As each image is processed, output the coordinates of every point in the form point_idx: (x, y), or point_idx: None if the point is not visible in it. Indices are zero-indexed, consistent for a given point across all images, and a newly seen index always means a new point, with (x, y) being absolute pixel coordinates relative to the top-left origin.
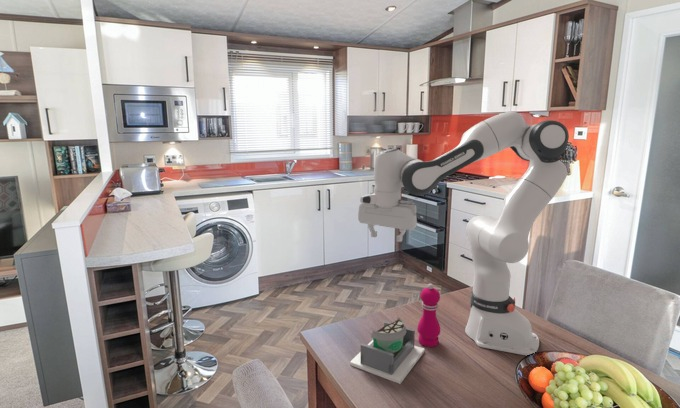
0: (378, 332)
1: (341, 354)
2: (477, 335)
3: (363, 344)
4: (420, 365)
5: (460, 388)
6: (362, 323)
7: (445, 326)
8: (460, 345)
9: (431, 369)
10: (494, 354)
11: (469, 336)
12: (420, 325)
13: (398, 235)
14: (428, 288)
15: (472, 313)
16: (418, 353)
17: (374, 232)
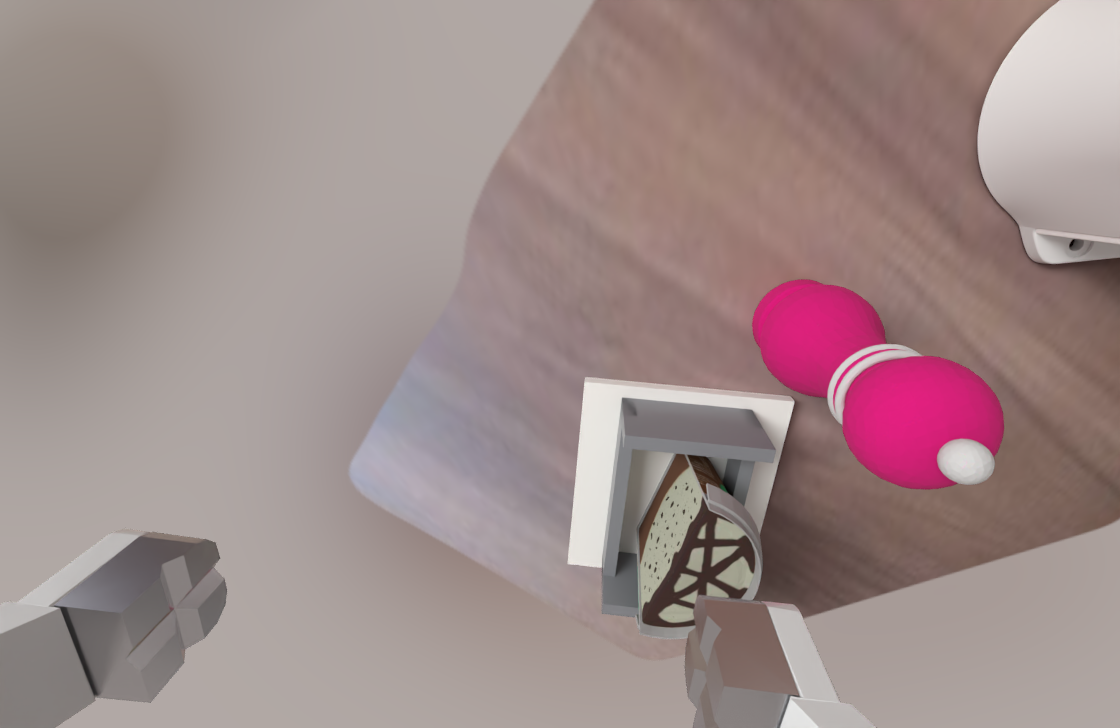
0: (668, 638)
1: (516, 522)
2: (1059, 236)
3: (610, 609)
4: (788, 476)
5: (931, 529)
6: (475, 307)
7: (865, 140)
8: (942, 286)
9: (830, 481)
10: (1097, 290)
11: (996, 198)
12: (790, 386)
13: (732, 715)
14: (936, 454)
15: (1116, 168)
16: (776, 439)
17: (130, 689)
